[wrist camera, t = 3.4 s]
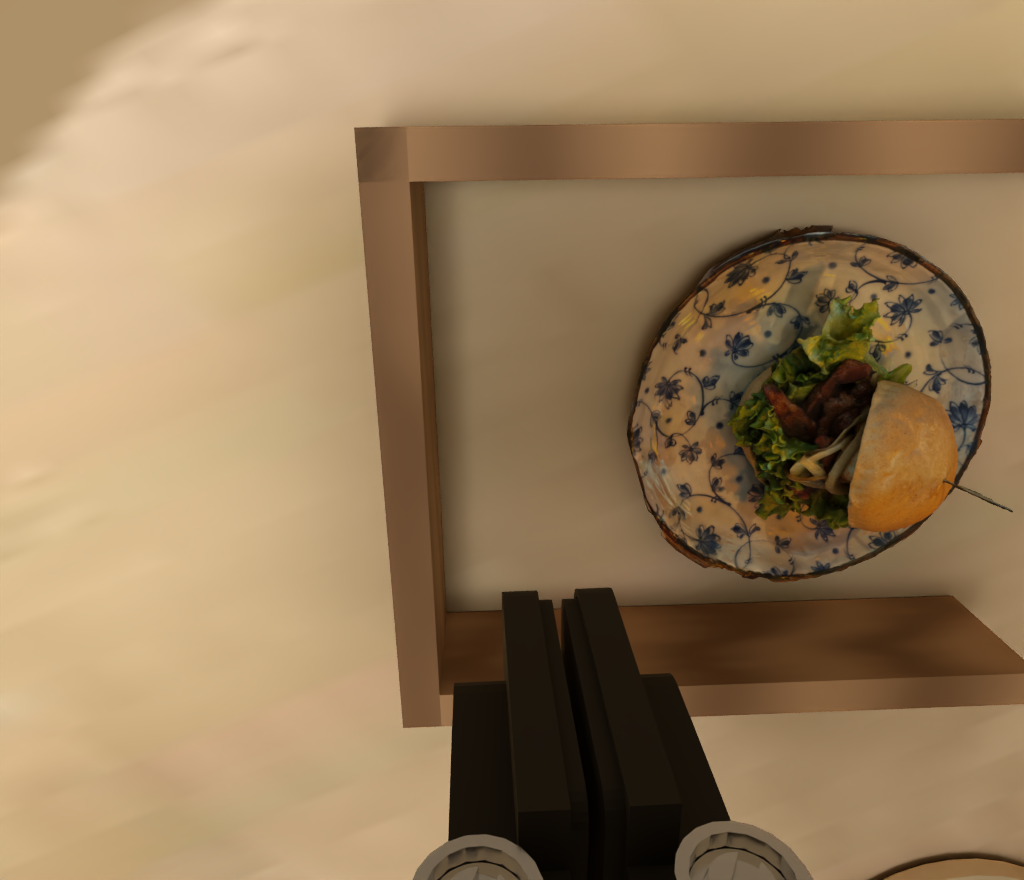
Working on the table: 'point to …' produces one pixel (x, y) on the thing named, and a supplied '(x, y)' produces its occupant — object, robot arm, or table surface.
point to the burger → (809, 405)
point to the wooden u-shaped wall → (671, 628)
